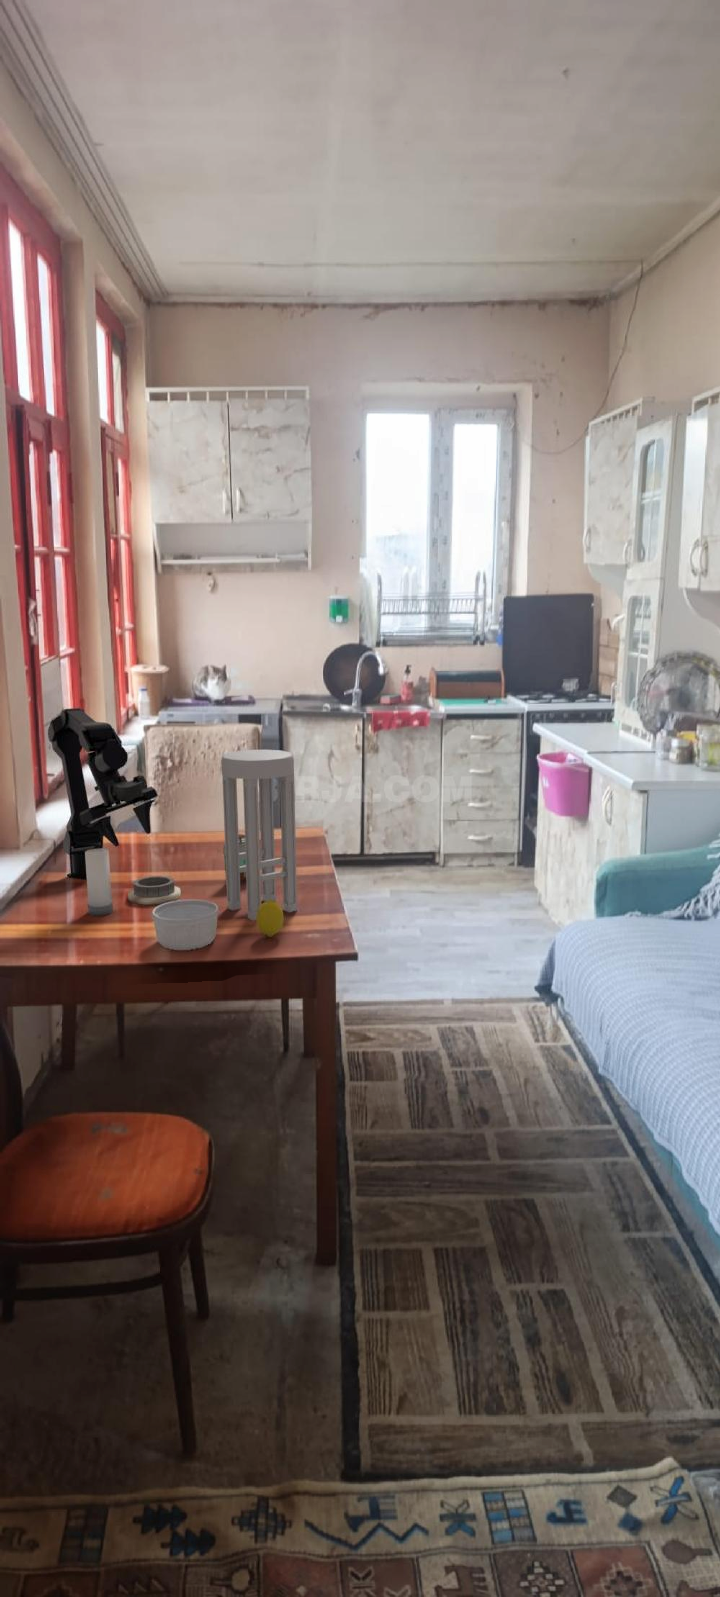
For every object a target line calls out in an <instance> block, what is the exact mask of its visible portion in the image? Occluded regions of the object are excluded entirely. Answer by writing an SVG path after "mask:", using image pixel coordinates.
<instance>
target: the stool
mask: <svg viewBox="0 0 720 1597" xmlns="http://www.w3.org/2000/svg"><path fill="white" fill-rule="evenodd" d="M294 760H295V759H294V755H293V752H290V751H285V750H278V749H247V750H245V749H244V750H236V751H230V752H227V753H223V754H221V760H220V762H221V763H220V764H221V776H222V778H221V779H222V797H223V798H222V799H223V800H222V801H223V802H222V804H223V827H224V845H225V856H226V873H225V884H226V883H227V884H226V904H227V909H229V910H231V911H235V910H236V911H237V910H240V909H242V900H241V896H242V895H241V883H240V873H241V872H246V882H245V884H246V906H247V908H246V909H247V919H249V920H251V921H256V917H257V911H258V908H259V907H260V905H261V904H262V901H263V902H266V901H268V900H272V901H274V902H276V901H277V897H276V896H277V895H276V893H277V892H276V889H277V888H276V879H280V878H281V879H282V902H283V903H282V905H283V907H282V911H285V912H286V913H293V911H294V912H297V911H298V887H297V885H298V883H297V881H298V880H297V844H296V842H297V841H296V840H297V839H296V838H297V837H296V805H295V801H296V799H295V797H296V796H295V794H296V793H295V764H294V763H295V761H294ZM275 778H276V779H277V778H279V787H280V788H279V789H280V793H279V794H280V795H279V797H280V825H281V826H280V829H281V830H280V831H281V856H280V857H276V856H275V854H276V853H275V851H276V850H275V827H274V826H275V825H274V824H275V822H274V821H275V817H274V790H273V788H274V785H273V782H274V781H273V780H274V779H275ZM237 779H239V780H240V779H242V781H243V782H242V785H243V788H242V789H243V790H242V792H243V794H242V795H243V821H244V823H243V824H244V835H245V852H243V853H239V837H238V834H239V818H238V817H239V814H238V811H239V810H238V789H237V787H238V786H237ZM259 826H260V827H259ZM245 858H246V865H245V866H240V865H239V859H245ZM281 864H282V865H281ZM276 865H277V866H278V865H281V866H282V867H281V869H282V870H279V871H276V867H275V866H276Z"/></svg>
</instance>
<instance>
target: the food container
mask: <svg viewBox="0 0 720 1597" xmlns="http://www.w3.org/2000/svg"><path fill="white" fill-rule="evenodd" d="M238 837H239V853H243V852H245V834H240V833H238ZM222 850H223V851H222V854H223V858H224V871H225V872H224V873H225V874H226V856H225V844H223V847H222ZM239 865H240V866H245V865H246V858H245V859H239ZM244 883H245V884H246V872H241V873H240V884H244ZM225 884H226V885H227V883H226V882H225Z"/></svg>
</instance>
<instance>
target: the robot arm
mask: <svg viewBox="0 0 720 1597" xmlns="http://www.w3.org/2000/svg"><path fill="white" fill-rule="evenodd" d="M47 736H48V742H49V743H51V746H52V750H53V751H54V752H55V753H56V755H58V757H59V758H60V759H61V765H62V770H63V776H64V781H65V788H66V794H67V800H68V804H69V810H70V811H69V812H70V817H69V819H68V821H67V824H66V831H65V833H64V834H65V835H64V838H63V842H62V846H63V847H62V848H63V852H64V853H66V854H67V855H68V856H69V866H70V869H69V870H70V872H69V873H67V874H66V877H69V878H78V879H84V880H85V879H86V880H87V874H86V860H85V851H87V850H90V849H98V848H102V849H104V848H103V847H104V837H105V838H106V839H107V840H108V841H109V842H110V843H111V844H112V845H113V846H114V847H116V848H117V847H119V846H120V843H119V840H118V837H117V835H116V832H115V830H114V828H113V826H112V824H111V821H112V820H111V817H112V816H111V815H107V814H109V813H112V812H115V811H117V810H120V809H123V808H126V807H128V806H131V805H133V806H135V807H133V808H132V810H133V812H134V814H135V816H136V818H137V820H138V821H139V824H140V825H141V827H142V829H143V830H144V832H145V833H146V835H149V834H151V833H152V830H151V814H150V813H151V808H152V805H153V803H154V802H155V801H156V799H155V798H157V797H159V795H158V792H157V789H155V788H154V787H152V786H148V783H147V781H146V778H145V777H144V775H143V774H142V775H141V774H140V775H136V776H133V779H132V780H129V781H128V780H127V778H126V776H125V775H124V774H122V775H121V774H120V772H119V770H121V768H124V766H126V765H127V762H128V760H129V758H128V755H129V754H128V752H127V751H126V749H125V748H124V747H123V745H122V744H123V743H122V742H123V741H122V740H121V738H120V737H119V735H118V734H117V732H116V730H115V729H114V727H113V726H112V725H111V724H110V723H107V722H102V721H101V722H100V721H95V720H94V719H93V718H92V717H90V715H89V714H87V713H85V710H84V709H83V708H80V707H73V708H64V709H62V710H61V712H60V714H59V715H58V716H56V717H55V718H53V719H52V720H51V721H50V723H49V726H48V729H47ZM82 749H84V750H85V752H87V757H86V762H85V763H86V765H87V766H88V768H89V770H90V772H91V775H92V777H93V780H94V782H95V784H96V786H94V787H93V788H94V790H95V792H99V794H100V796H101V799H102V801H103V802H102V803H100V804H97V805H95V806H91V807H90V805H89V799H88V795H87V794H88V793H87V787H86V781H85V777H84V771H83V766H82V761H81V760H82V759H81V752H82Z"/></svg>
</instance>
